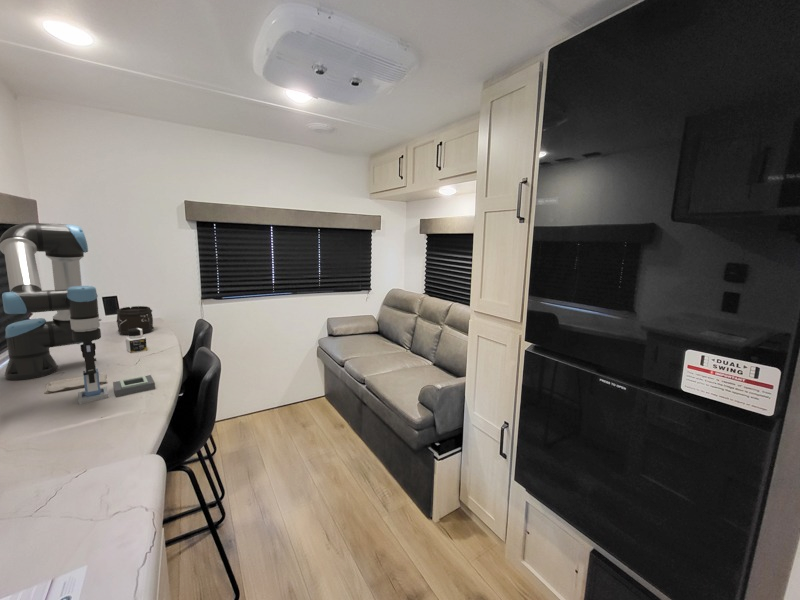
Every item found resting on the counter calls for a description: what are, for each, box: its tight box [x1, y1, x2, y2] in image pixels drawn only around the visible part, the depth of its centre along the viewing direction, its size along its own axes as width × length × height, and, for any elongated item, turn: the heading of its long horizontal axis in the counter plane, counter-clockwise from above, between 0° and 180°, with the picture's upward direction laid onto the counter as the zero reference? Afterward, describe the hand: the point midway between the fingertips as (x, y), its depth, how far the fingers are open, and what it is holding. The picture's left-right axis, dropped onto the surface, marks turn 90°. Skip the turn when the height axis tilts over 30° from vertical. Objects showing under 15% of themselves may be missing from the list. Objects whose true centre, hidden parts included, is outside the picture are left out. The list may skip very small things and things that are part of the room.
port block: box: [112, 374, 156, 398], centre depth 131 cm, size 12×10×4 cm
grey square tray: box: [77, 386, 110, 405], centre depth 123 cm, size 8×8×2 cm
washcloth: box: [43, 373, 108, 395], centre depth 132 cm, size 12×18×3 cm, turn 133°
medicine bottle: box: [125, 328, 148, 354], centre depth 176 cm, size 7×7×12 cm
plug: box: [82, 363, 101, 397], centre depth 122 cm, size 4×4×12 cm
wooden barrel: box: [116, 305, 154, 337], centre depth 209 cm, size 18×18×16 cm
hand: (92, 384), depth 122 cm, fingers open, 13 cm apart
